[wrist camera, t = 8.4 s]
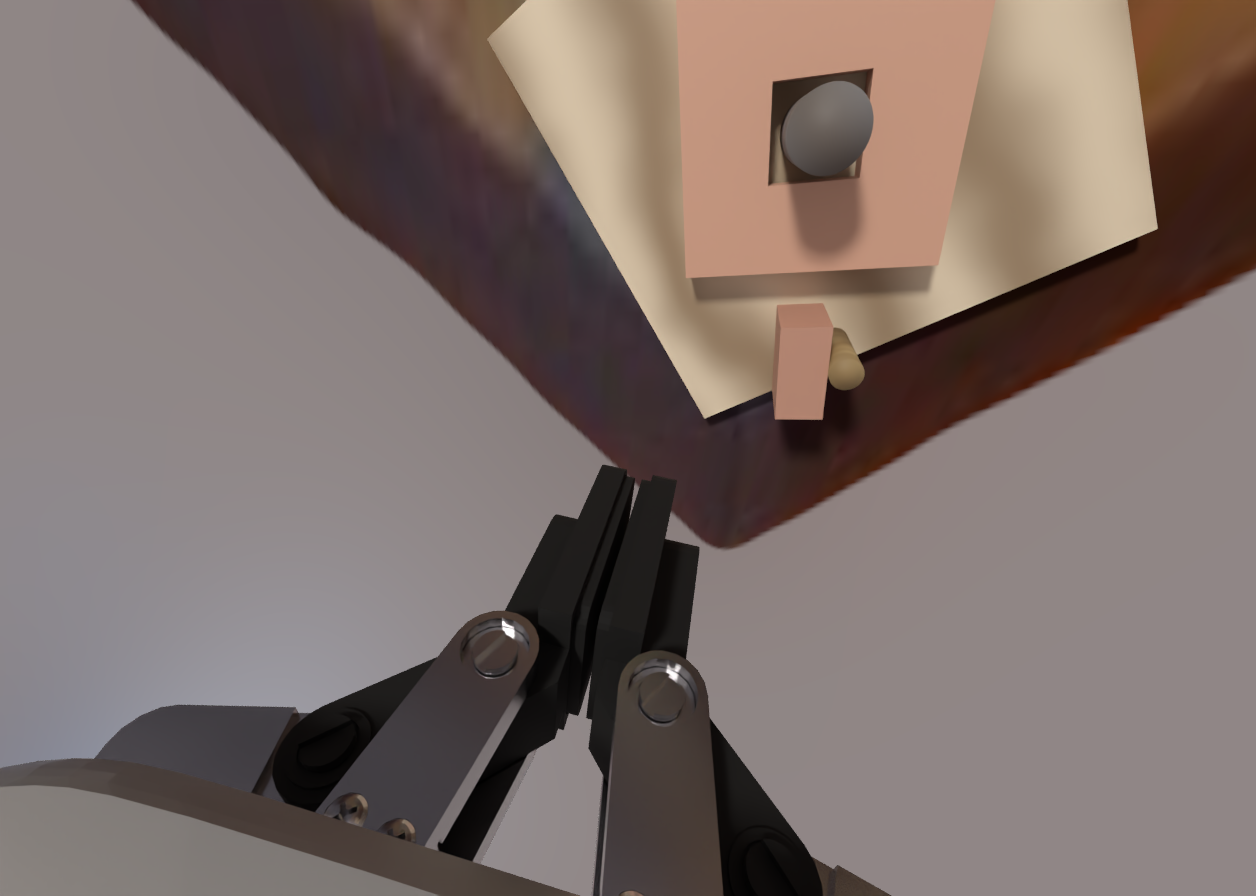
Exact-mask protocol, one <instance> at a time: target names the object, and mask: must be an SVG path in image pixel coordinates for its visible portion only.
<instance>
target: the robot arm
mask: <svg viewBox="0 0 1256 896" xmlns="http://www.w3.org/2000/svg"><path fill="white" fill-rule="evenodd" d="M634 483H635V478H632V477H628V476H627V470H626V469H622V468H617V467H612V466H607V465H602V467H601V469H600V471H599V473H598V475H597V478H596V480H595V482H594V485H593V487H592V489H591V491H590V493H589V495H588V498H587V500H586V502H585V504H584V507H583V509H582V511H581V513H580V516H579V518H578V519H574V518H570V517H566V516H561V515H555V516H554V517H553V519H552V520H551V522H550V524H549V526H548V528H547V530H546V532H545V534H544V536H543V538H542V540H541V541H540V543H539V546H538V547H537V549H536V552H535V553H534V555H533V557H532V559H531V561H530V563H529V565H528V567H527V569H526V571H525V573H524V575H523V577H522V579H521V580H520V582H519V585H518V586H517V588H516V590H515V592H514V594H513V596H512V598H511V600H510V602H509V604H508V606H507V608H506V610H505V611H492V612H488V613H484V614H481V615H479V616H477V617H475V618H473V619H472V620H470V621H468V622H467V623H466V624H465V625H464V626H463V627H462V628H461V629H460V630H459V631H458V632H457V633H456V635H455V636H454V637H453V638H452V639H451V641H450V642H449V643H448V645H447V646H446V647H445V648H444V650H443V651H442V652H441V653H440V655H439V656H438V657H436V658H434V659H432V660H429V661H427V662H425V663H422V664H420V665H418V666H415V667H413V668H411V669H409V670H407V671H404V672H401V673H399V674H397V675H394V676H392V677H390V678H387V679H385V680H383V681H380V682H378V683H376V684H373V685H371V686H369V687H366V688H364V689H362V690H360V691H357V692H355V693H352V694H350V695H348V696H345V697H343V698H341V699H338V700H336V701H334V702H331V703H329V704H327V705H325V706H322V707H321V708H319V709H317V710H315V711H314V712H312V713H298V711H297V709H296V707H260V706H258V707H257V706H213V705H211V706H210V705H174V706H166V707H160V708H158V709H155V710H153V711H151V712H148V713H146V714H143V715H141V716H139V717H138V718H136V719H135V720H133V721H132V722H130V723H129V724H127V725H126V726H124V727H123V728H121V729H120V730H119V731H118V732H117V733H116V734H115V735H114V737H112V738H111V739H110V740H109V741H108V743H106V744H105V746H104V747H103V748H102V750H101V751H100V752H99V754H98V755H97V756H96V757H95V758H94V759H81V758H74V759H73V758H71V759H59V760H46V761H36V762H30V763H25V764H20V765H14V766H8V767H3V768H0V896H579V895H576V894H573V893H570V892H567V891H563V890H560V889H557V888H554V887H551V886H547V885H544V884H541V883H538V882H535V881H531V880H529V879H525V878H522V877H519V876H516V875H513V874H510V873H506V872H503V871H500V870H497V869H494V868H491V867H487V866H484V865H481V864H480V863H481V861H482V859H483V857H484V855H485V853H486V852H487V850H488V848H489V846H490V844H491V842H492V840H493V838H494V836H495V834H496V832H497V830H498V828H499V826H500V824H501V822H502V820H503V818H504V816H505V814H506V812H507V810H508V808H509V806H510V804H511V802H512V800H513V798H514V796H515V794H516V792H517V790H518V788H519V786H520V784H521V782H522V780H523V778H524V776H525V774H526V772H527V770H528V768H529V766H530V764H531V762H532V760H533V758H534V755H535V752H536V749H537V748H539V747H541V746H543V745H544V744H546V743H548V742H549V741H551V740H553V739H555V736H556V733H557V730H558V729H562V730H564V727H565V724H566V720H567V717H568V714H569V713H570V714H573V715H577V716H578V715H579V712H580V709H581V706H582V703H583V699H584V696H585V692H586V689H587V686H588V683H589V679H590V676H591V682H590V691H589V700H588V708H587V717H586V718H588V719H592V725H591V733H590V741H589V750H590V752H591V754H592V755H593V757H594V759H595V761H596V763H597V765H598V767H599V768H600V770H601V772H602V774H603V777H602V786H601V797H600V808H599V818H598V830H597V840H596V852H595V862H594V873H593V884H592V895H591V896H891V895H889V894H887V893H886V892H884V891H882V890H881V889H879V888H877V887H875V886H874V885H872V884H870V883H868V882H866V881H865V880H863V879H861V878H859V877H857V876H856V875H854V874H852V873H851V872H849V871H847V870H845V869H844V868H842V867H840V866H838V865H837V866H836V867H835V868H834V869H832V868H830V867H829V866H827V865H825V864H823V863H822V862H820V861H818V860H816V859H815V858H813V857H811V856H810V854H809V852H808V850H807V849H806V847H805V845H804V844H803V843H802V841H801V840H800V839H799V837H798V836H797V834H796V833H795V832H794V830H793V829H792V828H791V826H790V825H789V824H788V823H787V821H786V820H785V818H784V817H783V816H782V814H781V813H780V812H779V810H778V809H777V808H776V806H775V805H774V804H773V802H772V801H771V800H770V798H769V797H768V796H767V794H766V793H765V791H764V790H763V789H762V787H761V786H760V785H759V784H758V782H757V781H756V779H755V778H754V777H753V776H752V774H751V773H750V771H749V770H748V769H747V767H746V766H745V765H744V764H743V762H742V761H741V759H740V758H739V757H738V755H737V754H736V753H735V751H734V750H733V749H732V747H731V746H730V744H729V743H728V742H727V740H726V739H725V738H724V737H723V735H722V734H721V732H720V731H719V730H718V728H717V727H716V726H715V724H714V723H713V722H712V720H711V719H710V717H709V705H708V695H707V690H706V686H705V682H704V680H703V679H702V677H701V675H700V674H699V672H698V670H697V669H696V668H695V667H694V666H693V665H692V664H691V663H690V662H689V661H688V660H686V654H687V646H688V638H689V630H690V622H691V614H692V606H693V598H694V590H695V582H696V574H697V566H698V558H699V547H697V546H693V545H689V544H684V543H680V542H675V541H671V540H667V539H665V536H666V532H667V526H668V522H669V517H670V512H671V507H672V502H673V498H674V493H675V488H676V483H677V480H673V479H668V478H664V477H659V476H654V475H653V477H652V480H651V481H646V480H642V481H641V484H640V488H639V491H638V494H637V497H636V500H635V503H634V507H633V510H632V513H631V516H630V510H631V504H632V497H633V490H634ZM629 517H630V519H629ZM591 672H592V674H591Z"/></svg>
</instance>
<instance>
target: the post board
mask: <svg viewBox="0 0 1256 896" xmlns="http://www.w3.org/2000/svg"><path fill="white" fill-rule="evenodd" d="M487 40H488V41H489V43H490V45H491V47H492V48H493V50H494V52H495V54H496V55H497V57H498V59H499V61H500V62H501V64H502V66H503V68H504V69H505V71H506V73H507V75H508V76H509V78H510V80H511V81H512V83H513V85H514V87H515V88H516V90H517V92H518V94H519V95H520V97H521V99H522V101H523V102H524V104H525V106H526V108H527V109H528V111H529V113H530V115H531V116H532V118H533V120H534V122H535V123H536V125H537V127H538V129H539V130H540V132H541V134H542V136H543V137H544V139H545V141H546V143H547V144H548V146H549V148H550V150H551V151H552V153H553V155H554V157H555V158H556V160H557V162H558V164H559V165H560V167H561V169H562V171H563V172H564V174H565V176H566V178H567V179H568V181H569V183H570V184H571V186H572V188H573V190H574V191H575V193H576V195H577V197H578V198H579V200H580V202H581V204H582V205H583V207H584V209H585V211H586V212H587V214H588V216H589V218H590V219H591V221H592V223H593V225H594V226H595V228H596V230H597V232H598V233H599V235H600V237H601V239H602V240H603V242H604V244H605V246H606V247H607V249H608V251H609V253H610V254H611V256H612V258H613V260H614V261H615V263H616V265H617V267H618V268H619V270H620V272H621V274H622V275H623V277H624V279H625V281H626V282H627V284H628V286H629V288H630V289H631V291H632V293H633V294H634V296H635V298H636V300H637V301H638V303H639V305H640V307H641V308H642V310H643V312H644V314H645V315H646V317H647V319H648V321H649V322H650V324H651V326H652V328H653V329H654V331H655V333H656V335H657V336H658V338H659V340H660V342H661V343H662V345H663V347H664V349H665V350H666V352H667V354H668V356H669V357H670V359H671V361H672V363H673V364H674V366H675V368H676V370H677V371H678V373H679V375H680V377H681V378H682V380H683V382H684V384H685V385H686V387H687V389H688V391H689V392H690V394H691V396H692V397H693V399H694V401H695V403H696V404H697V406H698V408H699V410H700V411H701V413H702V415H703V417H704V418H707V417H710V416H712V415H715V414H717V413H719V412H722V411H724V410H726V409H729V408H731V407H734V406H736V405H738V404H741V403H743V402H746V401H748V400H750V399H753V398H755V397H757V396H760V395H762V394H765V393H767V392H769V391H772V379H773V362H774V345H775V328H776V311H777V305H786V304H812V303H823V304H824V306H825V309H826V311H827V313H828V315H829V318H830V320H831V322H832V324H833V336H832V344H831V352H830V361H829V369H828V377H829V380H830V383H831V384H832V385H833V386H834V387H835V388H837V389H840V390H850V389H853V388H855V387H856V386H858V385H859V384H860V383H861V382H862V380H863V378H864V373H865V372H864V368H863V366H862V364H861V362H860V360H859V358H858V356H857V355H858V354H860V353H862V352H865V351H867V350H870V349H872V348H874V347H877V346H879V345H882V344H884V343H886V342H889V341H891V340H893V339H896V338H898V337H901V336H903V335H905V334H908V333H910V332H913V331H915V330H917V329H920V328H922V327H925V326H927V325H929V324H932V323H934V322H936V321H939V320H941V319H944V318H946V317H948V316H951V315H953V314H956V313H958V312H960V311H963V310H965V309H967V308H970V307H972V306H975V305H977V304H979V303H982V302H984V301H987V300H989V299H991V298H994V297H996V296H998V295H1001V294H1003V293H1006V292H1008V291H1010V290H1013V289H1015V288H1018V287H1020V286H1022V285H1025V284H1027V283H1029V282H1032V281H1034V280H1037V279H1039V278H1041V277H1044V276H1046V275H1049V274H1051V273H1053V272H1056V271H1058V270H1061V269H1063V268H1065V267H1068V266H1070V265H1072V264H1075V263H1077V262H1080V261H1082V260H1084V259H1087V258H1089V257H1092V256H1094V255H1096V254H1099V253H1101V252H1103V251H1106V250H1108V249H1111V248H1113V247H1115V246H1118V245H1120V244H1123V243H1125V242H1127V241H1130V240H1132V239H1134V238H1137V237H1139V236H1142V235H1144V234H1146V233H1149V232H1151V231H1154V230H1156V229H1158V228H1157V221H1156V213H1155V206H1154V198H1153V191H1152V183H1151V175H1150V168H1149V160H1148V153H1147V145H1146V138H1145V130H1144V123H1143V115H1142V108H1141V100H1140V92H1139V85H1138V77H1137V70H1136V62H1135V55H1134V47H1133V40H1132V32H1131V25H1130V17H1129V9H1128V2H1127V0H996V1H995V5H994V10H993V14H992V19H991V24H990V28H989V33H988V38H987V42H986V47H985V51H984V56H983V61H982V65H981V70H980V75H979V79H978V84H977V88H976V93H975V98H974V102H973V107H972V112H971V116H970V121H969V125H968V130H967V135H966V139H965V144H964V149H963V153H962V158H961V162H960V167H959V172H958V176H957V181H956V186H955V190H954V195H953V199H952V204H951V209H950V213H949V218H948V223H947V227H946V232H945V236H944V241H943V246H942V250H941V255H940V260H939V264H938V265H933V266H913V267H894V268H874V269H855V270H835V271H816V272H796V273H777V274H757V275H737V276H718V277H698V278H686V269H685V240H684V212H683V183H682V154H681V125H680V97H679V68H678V39H677V10H676V0H527V1H526V2H525V3H524V4H522V5H521V6H520V7H519V8H518V9H517V10H516V11H515V12H514V13H513V14H512V15H511V16H510V17H509V18H508V19H507V20H506V21H505V22H504V23H503V24H502V25H501V26H500V27H499V28H498V29H497V30H496V31H495V32H494V33H493V34H492V35H491V36H490V37H489V38H488V39H487ZM866 76H867V72H860V73H852V74H845V75H837V76H829V77H822V78H814V79H807V80H799V81H791V82H784V83H776V84H772V106H771V129H770V152H769V175H768V184H770V183H781V182H793V181H804V180H815V179H826V178H837V177H848V176H854V174H855V166H856V160H857V159H858V158H859V157H860V155H861V154H862V153H863V151H864V150H865V148H866V146H867V144H868V142H869V140H870V137H871V134H872V130H873V121H874V116H873V109H872V105H871V102H870V100H869V98H868V97H867V95H866V94H865V84H866Z"/></svg>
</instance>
